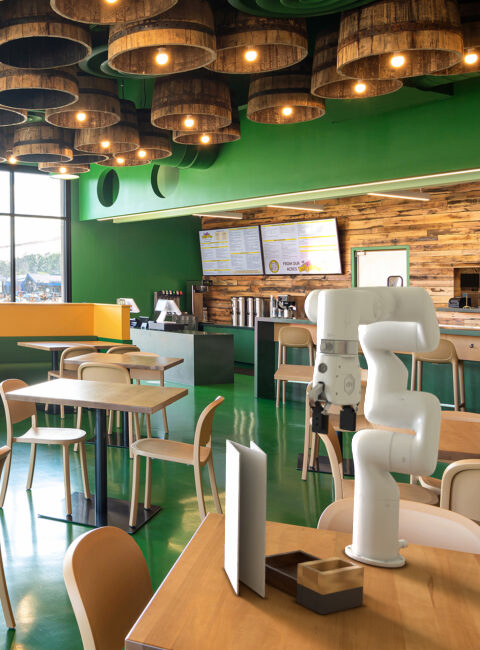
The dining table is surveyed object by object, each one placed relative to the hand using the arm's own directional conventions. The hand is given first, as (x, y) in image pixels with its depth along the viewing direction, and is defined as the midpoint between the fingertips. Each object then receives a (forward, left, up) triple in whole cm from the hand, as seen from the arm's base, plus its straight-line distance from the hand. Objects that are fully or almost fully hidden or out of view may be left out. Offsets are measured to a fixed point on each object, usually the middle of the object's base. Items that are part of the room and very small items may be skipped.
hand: (333, 431), depth 137 cm
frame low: (-1, 0, -36) cm, 36 cm away
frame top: (-1, 0, -32) cm, 32 cm away
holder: (-5, -11, -36) cm, 38 cm away
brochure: (+9, -14, -36) cm, 39 cm away
